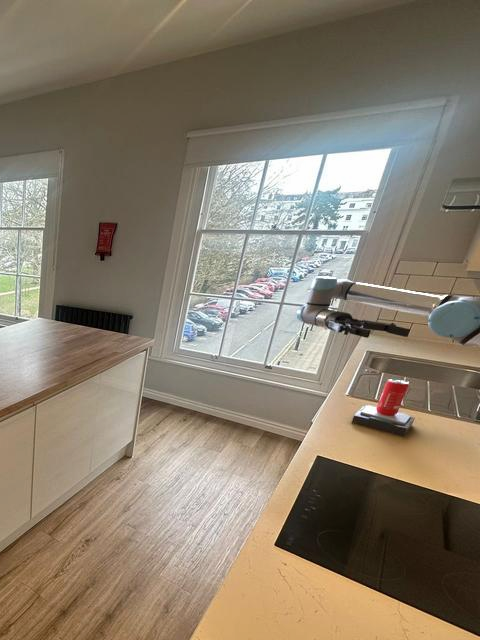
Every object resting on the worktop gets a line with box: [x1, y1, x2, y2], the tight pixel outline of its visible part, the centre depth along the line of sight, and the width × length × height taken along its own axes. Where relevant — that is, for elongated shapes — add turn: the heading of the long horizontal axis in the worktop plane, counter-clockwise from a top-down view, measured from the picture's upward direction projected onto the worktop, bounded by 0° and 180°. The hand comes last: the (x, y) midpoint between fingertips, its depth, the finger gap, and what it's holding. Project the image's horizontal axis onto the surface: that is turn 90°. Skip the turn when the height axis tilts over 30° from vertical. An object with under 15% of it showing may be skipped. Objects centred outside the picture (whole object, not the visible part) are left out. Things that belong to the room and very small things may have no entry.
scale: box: [350, 405, 416, 437], centre depth 138 cm, size 13×13×4 cm
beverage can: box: [376, 378, 409, 416], centre depth 136 cm, size 5×5×12 cm
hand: (388, 333), depth 137 cm, fingers open, 13 cm apart
